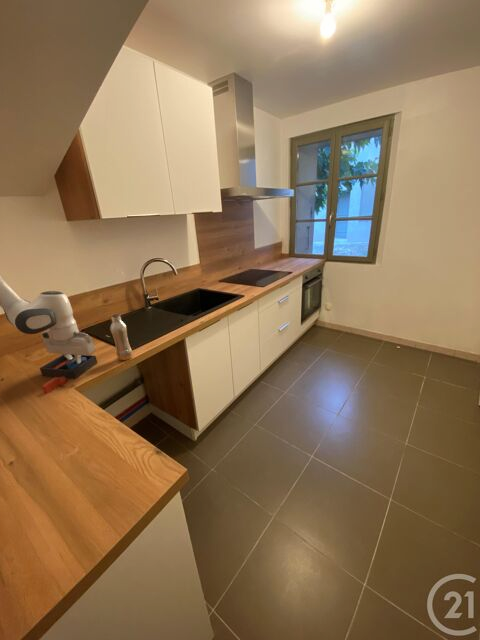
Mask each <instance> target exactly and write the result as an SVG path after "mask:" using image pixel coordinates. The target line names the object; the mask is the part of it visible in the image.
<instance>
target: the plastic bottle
mask: <svg viewBox="0 0 480 640" xmlns="http://www.w3.org/2000/svg"><path fill="white" fill-rule="evenodd" d="M110 319H111V324H110V327H109V330H110V332H111V335H112V337H113V340H114V344H115V349H116V350H115V354H116V357H117V359H119V360H121V361H125V360H129V359H131V358H132V356H133V349H132V347H131V345H130V341H129V338H128V328H127V324H126V323H125V322H124V321H123V320H122V317H121V314H119V313H117V314H112V315H111V316H110Z"/></svg>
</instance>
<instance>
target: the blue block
mask: <svg viewBox="0 0 480 640" xmlns="http://www.w3.org/2000/svg"><path fill="white" fill-rule="evenodd" d="M75 359H76V358H75ZM75 359H74V360H75ZM80 359H81V363H79V364H76V363H75V362H74V360H72V361H70V362H69V363H67V364H66V365H67V368H68V370H73V369H75V368H76V367H78V366H79V365H81V364H83V363H84V362H86V361H87V359H86V357H81V358H80Z"/></svg>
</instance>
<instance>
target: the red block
mask: <svg viewBox="0 0 480 640" xmlns="http://www.w3.org/2000/svg"><path fill="white" fill-rule="evenodd" d="M66 383H67V378H65V377H52V379H50V380H49V381H47V382H46V383H44V384H43V385H41V388H42V391H43V393H44V394H49V393H50V392H52V391H53V390H54V389H56V388H58V387H59V386H62V385H65V384H66Z"/></svg>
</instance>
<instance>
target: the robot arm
mask: <svg viewBox="0 0 480 640" xmlns="http://www.w3.org/2000/svg"><path fill="white" fill-rule="evenodd" d="M0 307H1V309H2V310H3V312H4V316H5V318H6V320H7V321H8V322H9V324H10V325H12V326H13V327H14V328H15V329H17V330H18V331H20V332H21V333H23V334H25V335H37V334H39V333H40V337H41V338H42V339H43V344H44V347H45V350H46V352H48V353H49V354H56V355H57V354H59V355H63V354H64V356H65V357H66V358H67V359H68V361H69V362H70V361H72V360H74V359H75V358H73V357H72V356H71V355H74V356H75V357H76V359H75V360H74V362H75V363H76V364H79V363H81V359H80V358H81V355H85V356H89V355H92V354H95V352H96V347H95V344H94V342H93V340H92V338H91V336H90V335H89V334H87V333H86V332H80V330H79V326H78V324H77V320H76V319H75V318H74V311H73V308H72V305H71V302H70V299H69V298H68V296H67V295H66V293H64V292H62V291H59V290H57V291H56V290H49V291H48V290H47V291H42V292H41V293H40V294H39V295H38V296H37V297H36V298H34V299H33V300H32V301H29V300H27V299H24V298H22V297H21V296H19V295H18V294H17V292H16V291H14V289H12V288H11V287H10V285H9V284H8V283H7V282H6V281H5V280H4V279H3V277H2V275H0Z"/></svg>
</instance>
